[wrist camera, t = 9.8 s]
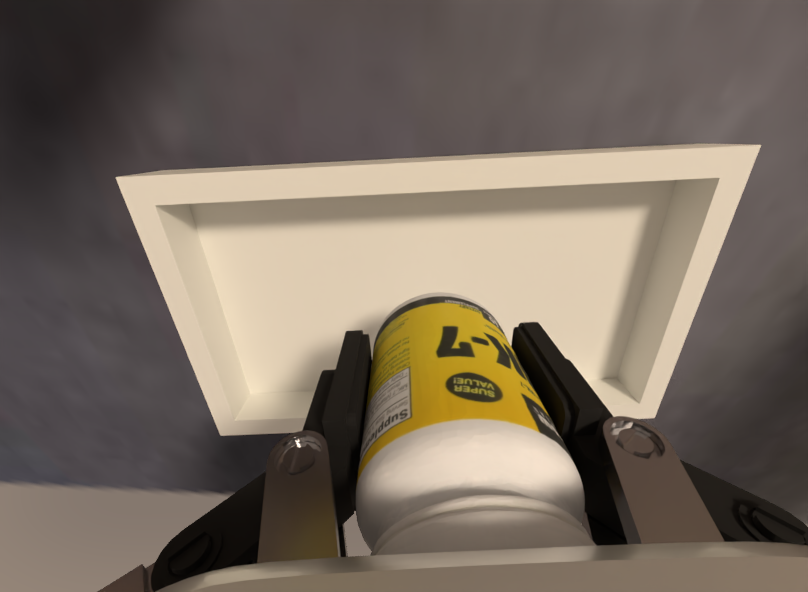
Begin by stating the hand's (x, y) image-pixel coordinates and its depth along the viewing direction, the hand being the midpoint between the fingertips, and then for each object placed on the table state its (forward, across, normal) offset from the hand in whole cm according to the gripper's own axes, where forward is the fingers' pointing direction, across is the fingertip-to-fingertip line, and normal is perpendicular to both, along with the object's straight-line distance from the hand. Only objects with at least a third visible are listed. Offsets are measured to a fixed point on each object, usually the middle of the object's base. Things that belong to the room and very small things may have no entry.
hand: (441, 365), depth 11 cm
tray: (+5, 0, 0) cm, 5 cm away
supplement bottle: (+1, 0, 0) cm, 1 cm away
